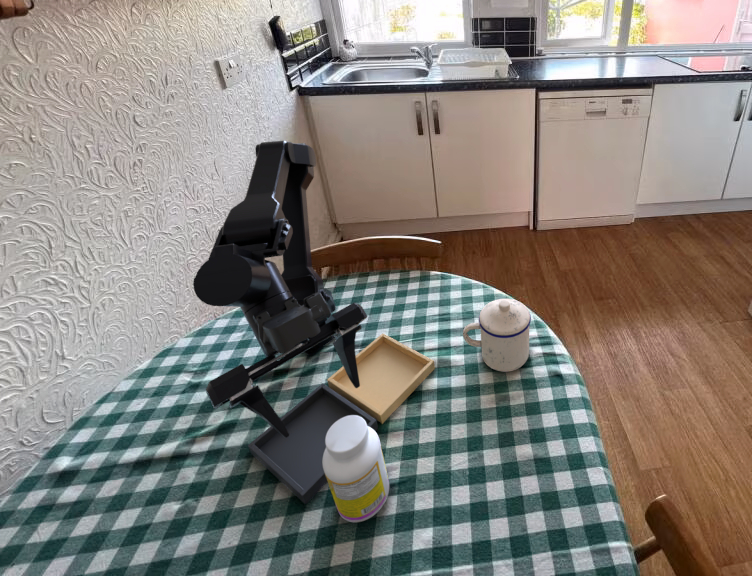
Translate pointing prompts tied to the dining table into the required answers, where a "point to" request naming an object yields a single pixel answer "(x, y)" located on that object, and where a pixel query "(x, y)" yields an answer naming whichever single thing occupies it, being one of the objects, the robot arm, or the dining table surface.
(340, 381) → the light tray
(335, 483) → the supplement bottle
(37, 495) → the dining table surface
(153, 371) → the dining table surface
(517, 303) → the teacup with lid
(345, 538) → the dining table surface
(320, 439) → the dark tray
